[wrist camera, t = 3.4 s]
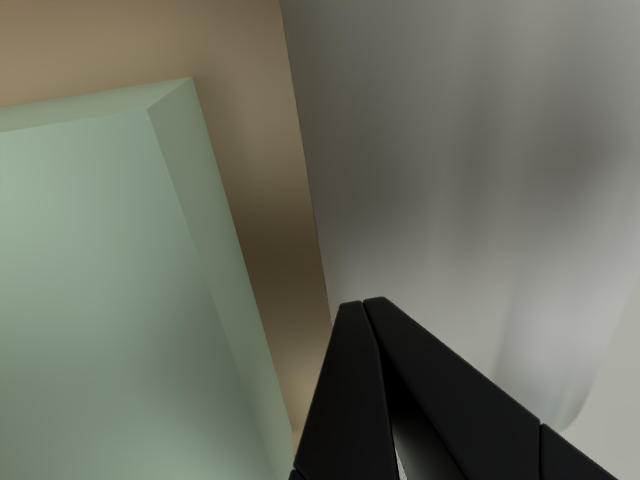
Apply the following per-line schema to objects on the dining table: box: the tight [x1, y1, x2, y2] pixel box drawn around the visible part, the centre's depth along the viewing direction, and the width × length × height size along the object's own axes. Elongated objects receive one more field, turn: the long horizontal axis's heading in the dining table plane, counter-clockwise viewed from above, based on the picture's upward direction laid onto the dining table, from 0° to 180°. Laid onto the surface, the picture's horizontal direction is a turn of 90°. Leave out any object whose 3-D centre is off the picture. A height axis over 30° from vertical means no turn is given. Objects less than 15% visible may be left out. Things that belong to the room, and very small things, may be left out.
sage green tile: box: [0, 77, 294, 480], centre depth 7 cm, size 9×6×2 cm, turn 8°
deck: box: [0, 0, 332, 459], centre depth 10 cm, size 12×13×4 cm
